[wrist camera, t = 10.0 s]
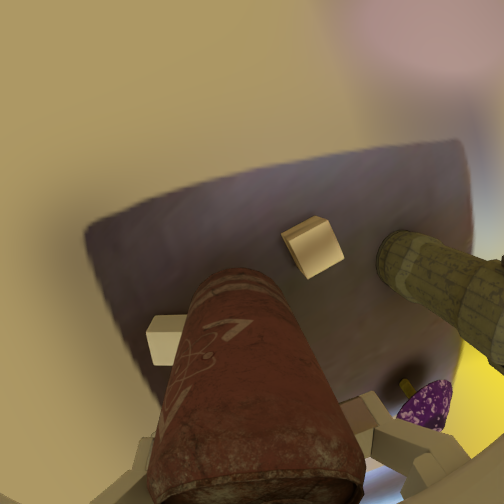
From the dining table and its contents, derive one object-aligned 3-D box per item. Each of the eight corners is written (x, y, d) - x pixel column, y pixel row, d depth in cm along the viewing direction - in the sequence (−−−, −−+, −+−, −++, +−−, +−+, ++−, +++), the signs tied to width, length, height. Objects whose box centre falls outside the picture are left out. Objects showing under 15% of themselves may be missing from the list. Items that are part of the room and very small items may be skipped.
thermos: (382, 304, 39) (550, 460, 5) (367, 232, 36) (616, 353, 2) (425, 281, 39) (595, 392, 5) (414, 211, 36) (636, 280, 2)
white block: (194, 345, 38) (191, 365, 33) (161, 345, 38) (153, 365, 33) (189, 314, 37) (185, 331, 32) (154, 315, 36) (145, 332, 32)
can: (197, 354, 19) (176, 547, 5) (186, 267, 17) (101, 466, 4) (283, 349, 19) (348, 532, 5) (284, 262, 18) (411, 439, 4)
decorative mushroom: (422, 341, 42) (472, 386, 27) (430, 380, 45) (468, 422, 30) (366, 380, 42) (405, 437, 28) (380, 414, 45) (412, 464, 31)
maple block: (330, 249, 36) (344, 258, 32) (297, 267, 37) (307, 279, 32) (314, 215, 35) (327, 219, 30) (280, 233, 35) (288, 241, 31)
